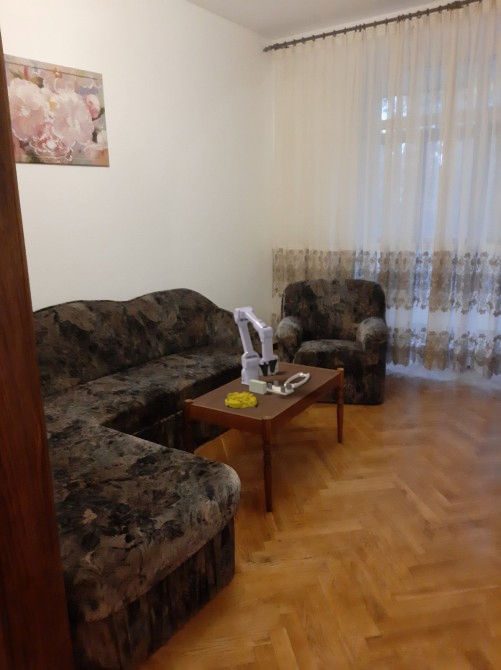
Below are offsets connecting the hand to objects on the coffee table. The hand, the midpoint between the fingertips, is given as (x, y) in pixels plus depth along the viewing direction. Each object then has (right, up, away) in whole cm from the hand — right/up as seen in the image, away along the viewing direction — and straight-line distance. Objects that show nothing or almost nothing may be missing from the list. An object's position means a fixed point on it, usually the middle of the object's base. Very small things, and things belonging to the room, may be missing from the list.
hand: (269, 374), depth 268 cm
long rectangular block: (-6, -10, +4) cm, 12 cm away
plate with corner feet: (+6, -9, +3) cm, 11 cm away
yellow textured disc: (-15, -14, -11) cm, 23 cm away
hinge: (+1, -3, +35) cm, 35 cm away
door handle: (+17, -6, +17) cm, 25 cm away
